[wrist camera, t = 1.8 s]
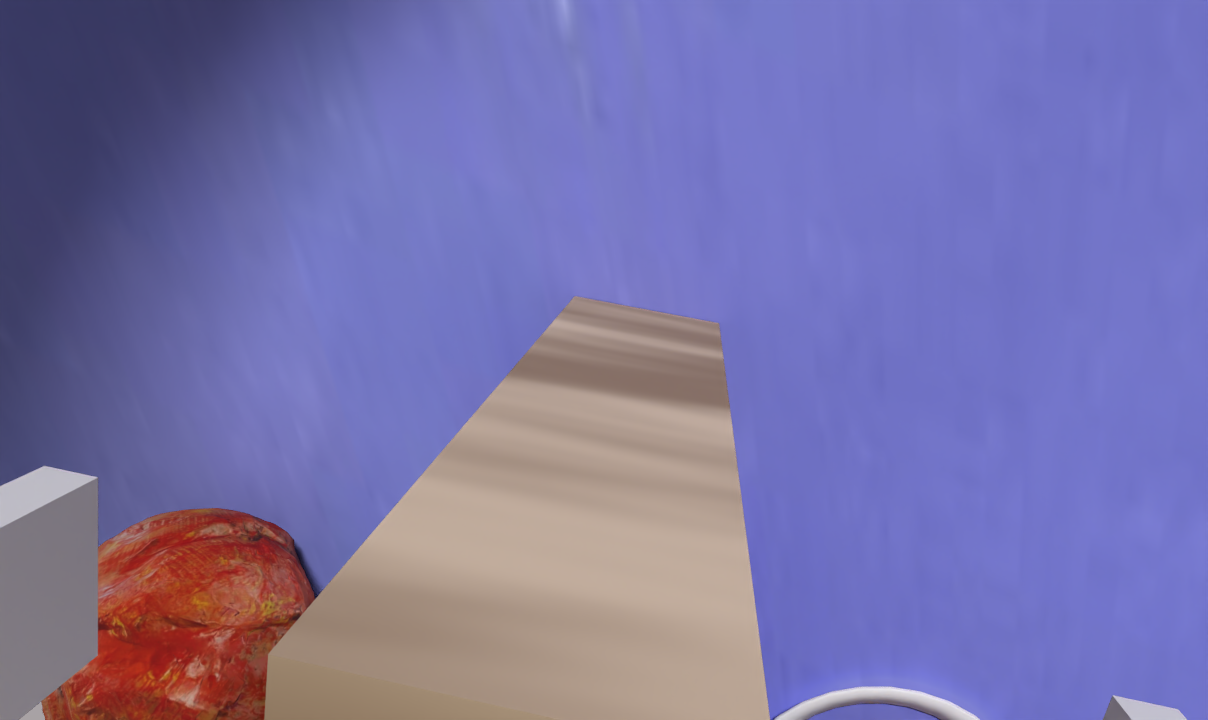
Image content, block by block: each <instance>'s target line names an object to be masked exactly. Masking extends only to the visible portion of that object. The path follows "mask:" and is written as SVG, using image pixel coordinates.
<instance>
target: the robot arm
mask: <svg viewBox="0 0 1208 720" xmlns="http://www.w3.org/2000/svg"><path fill="white" fill-rule="evenodd" d="M96 656H98V477H94V476H89V475H84V474H80V473H75V472H70V471H66V470H61V469H57V468H52V467H47V466H43V467H41V468H39V469H37V470H34V471H32V472H30V473H28V474H26V475H23V476H21V477H19V478H17V479H15V480H13V481H10V482H8V483H6V484H4V485H2V486H0V720H19V719H20V718H21V717H23V716H24V715H25V714H26V713H28V712H29V711H30V710H31V709H32V708H34V707H35V706H36V705H37V704H39V703H40V702H41V701H42V700H44V699H45V698H46V697H47V696H48V695H50V694H51V693H52V692H53V691H55V690H56V689H57V688H58V687H60V686H61V685H62V684H63V683H64V682H66V681H67V680H68V679H69V678H71V677H72V676H73V675H74V674H75V673H77V672H78V671H79V670H80V669H82V668H83V667H84V666H85V665H87V664H88V663H89V662H90V661H91V660H93V659H94V658H95V657H96ZM1103 720H1187V719H1186V718H1185V717H1184V716H1183V714H1182V713H1181V712H1180V711H1179V710H1178V709H1174V708H1169V707H1165V706H1160V705H1155V704H1151V703H1146V702H1141V701H1137V700H1132V699H1127V698H1123V697H1118V696H1112V698H1111V701H1110V703H1109V706H1108V708H1107V711H1106V713H1105V716H1104V718H1103Z"/></svg>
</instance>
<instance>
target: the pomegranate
mask: <svg viewBox="0 0 1208 720" xmlns="http://www.w3.org/2000/svg"><path fill="white" fill-rule="evenodd" d="M314 600H315V596H314V592H313V591H312V588H311V585H310V583H309V581H308V579H307V577H306V575H305V571H304V570H303V568H302V566H301V564H300V560H299V558H298V556H297V554H296V551H295V546H294V540H293V539H292V537H291V536H290V535H289V534H288V533H287V532H286V531H285V530H283V529H282V528H280V527H278V526H277V525H275V524H273V523H271V522H267V521H264V520H262V519H260V518H257V517H254V516H252V515H250V514H246V513H242V512H238V511H234V510H227V509H220V508H208V509H191V510H181V511H174V512H167V513H162V514H158V515H155V516H152V517H149V518H147V519H145V520H143V521H141V522H139V523H137V524H134V525H132V526H130V527H128V528H127V529H125V530H124V531H122V532H121V533H119V534H118V535H116V536H115V537H113V538H111V539H109V540H107V541H105V542H104V543H103V544H102V545H100V546H99V547H98V656H96V657H95V658H94V659H93V660H91V661H90V662H89V663H88V664H87V665H85V666H84V667H83V668H82V669H80V670H79V671H78V672H77V673H75V674H74V675H73V676H72V677H71V678H69V679H68V680H67V681H66V682H64V683H63V684H62V685H61V686H60V687H58V688H57V689H56V690H55V691H53V692H52V693H51V694H50V695H48V696H47V697H46V698H45V699H44V700H42V701H41V702H42V706H43V713H44V716H45V720H264V717H265V700H266V682H267V665H268V654H269V653H270V651H271V650H272V649H273V648H274V647H275V646H276V644H277V643H278V642H279V641H280V640H281V639H282V637H283V636H284V635H285V634H286V633H287V632H288V630H289V629H290V628H291V627H292V626H293V625H294V623H295V622H296V621H297V620H298V619H299V618H300V616H301V615H302V614H303V613H304V612H305V611H306V609H307V608H308V607H309V606H310V605H311V604H312V602H313V601H314Z"/></svg>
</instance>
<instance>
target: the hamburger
mask: <svg viewBox="0 0 1208 720" xmlns="http://www.w3.org/2000/svg"><path fill="white" fill-rule="evenodd" d="M860 703H886V704H893V705H899V706H905V707H910V708H913V709H916V710H919V711H922V712H925V713H928V714H931V715H933V716H935V717H937V718H939V719H941V720H980V719H979V718H978V717H976V716H975V715H973V714H971V713H970V712H968V711H966V710H964V709H962V708H961V707H959V706H957V705H955V704H953V703H952V702H950V701H947V700H944V699H941V698H938V697H935V696H932V695H929V694H926V693H923V692H920V691H914V690H908V689H902V688H895V687H856V688H850V689H844V690H838V691H833V692H828V693H826V694H823V695H820V696H817V697H814V698H812V699H809V700H806V701H803V702H801V703H799V704H798V705H796V706H794V707H792V708H791V709H789V710H787V711H785V712H784V713H782V714H780V715H779V716H777V717H776V718H775V719H774V720H807V719H809V718H810V717H812V716H814V715H816V714H819V713H822V712H825V711H828V710H831V709H834V708H836V707H842V706H848V705H854V704H860Z"/></svg>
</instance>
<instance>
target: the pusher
mask: <svg viewBox="0 0 1208 720" xmlns="http://www.w3.org/2000/svg"><path fill="white" fill-rule="evenodd" d="M264 720H770V716H769V708H768V700H767V693H766V685H765V677H764V669H763V661H762V654H761V646H760V638H759V630H758V623H757V615H756V607H755V599H754V592H753V584H752V576H751V568H750V561H749V553H748V545H747V537H746V529H745V522H744V514H743V506H742V498H741V491H740V483H739V475H738V467H737V460H736V452H735V444H734V436H733V429H732V421H731V413H730V405H729V398H728V390H727V382H726V374H725V366H724V359H723V351H722V343H721V335H720V328H719V323H715V322H710V321H704V320H699V319H694V318H688V317H683V316H678V315H672V314H667V313H662V312H656V311H651V310H646V309H640V308H635V307H629V306H624V305H619V304H613V303H608V302H603V301H597V300H592V299H587V298H581V297H576V296H575V297H574V298H573V299H572V300H571V301H570V302H569V304H568V305H567V306H566V307H565V308H564V309H563V311H562V312H561V313H560V314H559V315H558V316H557V318H556V319H555V320H554V321H553V322H552V323H551V325H550V326H549V327H548V328H547V329H546V330H545V332H544V333H543V334H542V335H541V336H540V337H539V339H538V340H537V341H536V342H535V343H534V344H533V346H532V347H531V348H530V349H529V350H528V351H527V353H526V354H525V355H524V356H523V357H522V358H521V360H520V361H519V362H518V363H517V364H516V365H515V367H514V368H513V369H512V370H511V371H510V372H509V374H508V375H507V376H506V377H505V378H504V379H503V381H502V382H501V383H500V384H499V385H498V386H497V388H496V389H495V390H494V391H493V392H492V393H491V395H490V396H489V397H488V398H487V399H486V400H485V402H484V403H483V404H482V405H481V406H480V407H479V409H478V410H477V411H476V412H475V413H474V414H473V416H472V417H471V418H470V419H469V420H468V421H467V423H466V424H465V425H464V426H463V427H462V428H461V430H460V431H459V432H458V433H457V434H456V435H455V437H454V438H453V439H452V440H451V441H450V442H449V444H448V445H447V446H446V447H445V448H444V449H443V451H442V452H441V453H440V454H439V455H438V456H437V458H436V459H435V460H434V461H433V462H432V463H431V465H430V466H429V467H428V468H427V469H426V470H425V472H424V473H423V474H422V475H421V476H420V477H419V479H418V480H417V481H416V482H415V483H414V484H413V486H412V487H411V488H410V489H409V490H408V491H407V493H406V494H405V495H404V496H403V497H402V498H401V500H400V501H399V502H398V503H397V504H396V505H395V507H394V508H393V509H392V510H391V511H390V512H389V514H388V515H387V516H386V517H385V518H384V519H383V521H382V522H381V523H380V524H379V525H378V527H377V528H376V529H375V530H374V531H373V532H372V534H371V535H370V536H369V537H368V538H367V539H366V541H365V542H364V543H363V544H362V545H361V546H360V548H359V549H358V550H357V551H356V552H355V553H354V555H353V556H352V557H351V558H350V559H349V560H348V562H347V563H346V564H345V565H344V566H343V567H342V569H341V570H340V571H339V572H338V573H337V574H336V576H335V577H334V578H333V579H332V580H331V581H330V583H329V584H328V585H327V586H326V587H325V588H324V590H323V591H322V592H321V593H320V594H319V595H318V597H317V598H316V599H315V600H314V601H313V602H312V604H311V605H310V606H309V607H308V608H307V609H306V611H305V612H304V613H303V614H302V615H301V616H300V618H299V619H298V620H297V621H296V622H295V623H294V625H293V626H292V627H291V628H290V629H289V630H288V632H287V633H286V634H285V635H284V636H283V637H282V639H281V640H280V641H279V642H278V643H277V644H276V646H275V647H274V648H273V649H272V650H271V651H270V653H269V654H268V665H267V682H266V700H265V717H264Z"/></svg>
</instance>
